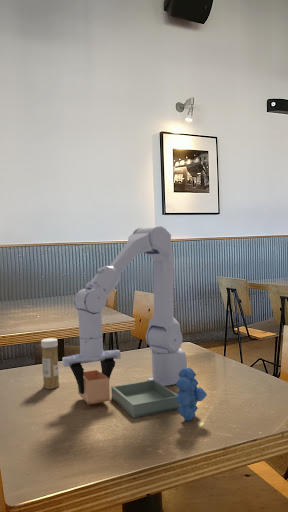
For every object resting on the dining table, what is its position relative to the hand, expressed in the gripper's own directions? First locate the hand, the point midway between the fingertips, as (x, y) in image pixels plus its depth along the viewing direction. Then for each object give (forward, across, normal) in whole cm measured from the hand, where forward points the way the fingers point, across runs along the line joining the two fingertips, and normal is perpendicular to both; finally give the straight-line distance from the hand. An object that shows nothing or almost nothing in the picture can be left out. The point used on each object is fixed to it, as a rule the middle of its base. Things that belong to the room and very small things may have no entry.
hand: (93, 390), depth 111 cm
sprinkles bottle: (+3, -7, +18) cm, 20 cm away
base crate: (+3, +11, -7) cm, 13 cm away
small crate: (+2, 0, 0) cm, 2 cm away
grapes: (+3, +16, -22) cm, 27 cm away
